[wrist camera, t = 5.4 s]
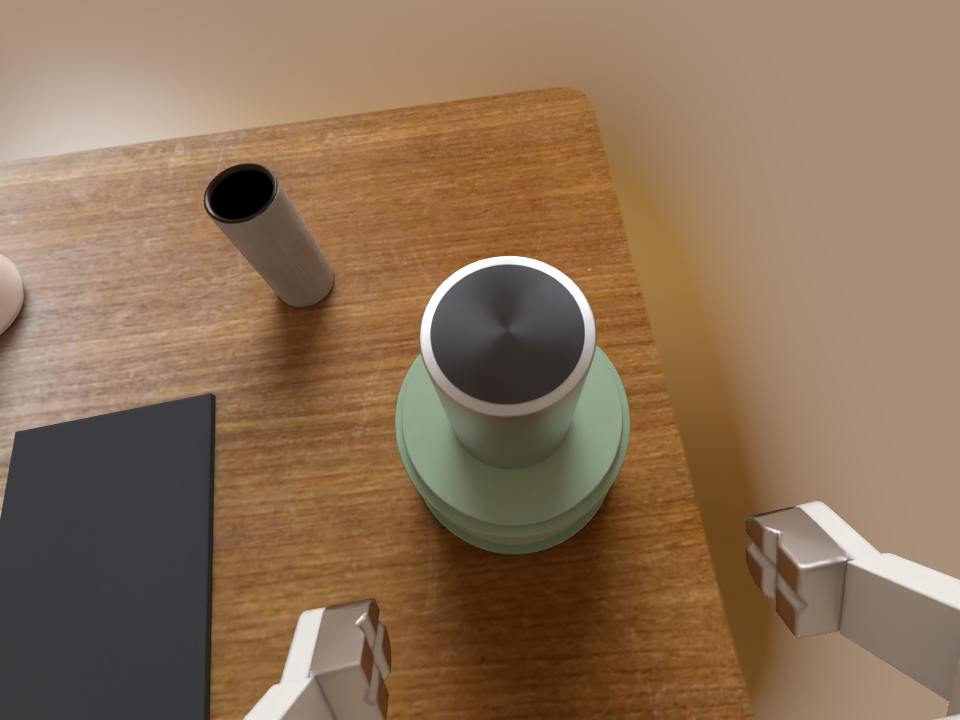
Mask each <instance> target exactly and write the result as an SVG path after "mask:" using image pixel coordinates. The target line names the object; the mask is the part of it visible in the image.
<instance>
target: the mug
mask: <svg viewBox="0 0 960 720" xmlns="http://www.w3.org/2000/svg"><path fill="white" fill-rule="evenodd" d="M23 300H24V287H23V279H22V276H21V274H20V272H19V270H18V268H17V267H16V266H15V264H14V263H13V262H12V261H10V260H9V259H8V258H6V257H5V256H3V255H2V254H0V334H2V333H3V332H4V331H5V330H6V329H7V328H8V327H9V326H10V325H11V324H12V323H13V321H14V320H15V318H16V317H17V315H18V314H19V312H20V310H21V307H22V304H23Z"/></svg>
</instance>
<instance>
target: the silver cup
mask: <svg viewBox="0 0 960 720" xmlns="http://www.w3.org/2000/svg"><path fill="white" fill-rule="evenodd" d="M596 341H597V330H596V322H595V318H594V314H593V311H592V309H591V306H590V304H589V302H588V300H587V299H586V297H585V295H584V294H583V292H582V291H581V290H580V288H579V287H578V286H577V285H576V284H575V283H574V282H573V281H572V280H571V279H570V278H569V277H568V276H566V275H565V274H564V273H562V272H561V271H559V270H558V269H556V268H554V267H552V266H550V265H548V264H546V263H544V262H541V261H537V260H534V259H530V258H525V257H516V256H500V257H493V258H488V259H484V260H480V261H477V262H475V263H472V264H469V265H467V266H465V267H464V268H462V269H460V270H458V271H457V272H455V273H454V274H452V275H451V276H450V277H449V278H447V279H446V280H445V281H444V282H443V283H442V284H441V285H440V286H439V287H438V288H437V290H436V291H435V292H434V294H433V295H432V297H431V298H430V300H429V302H428V304H427V306H426V308H425V310H424V313H423V316H422V319H421V324H420V330H419V345H420V352H421V356H422V360H423V362H424V365H425V368H426V370H427V372H428V374H429V377H430V379H431V381H432V383H433V386H434V388H435V390H436V392H437V394H438V397H439V399H440V401H441V403H442V406H443V408H444V410H445V412H446V414H447V417H448V419H449V421H450V423H451V426H452V428H453V430H454V432H455V434H456V436H457V438H458V440H459V442H460V443H461V445H462V446H463V447H464V448H465V449H466V450H467V451H468V453H469V454H471V455H472V456H473V457H474V458H476V459H477V460H479V461H481V462H483V463H485V464H487V465H489V466H492V467H496V468H501V469H521V468H526V467H530V466H533V465H535V464H538V463H540V462H541V461H543V460H545V459H546V458H548V457H549V456H550V455H551V454H553V453H554V452H555V451H556V450H557V449H558V447H559V446H560V445H561V443H562V442H563V440H564V438H565V436H566V435H567V432H568V429H569V426H570V424H571V421H572V418H573V415H574V412H575V409H576V406H577V404H578V401H579V398H580V395H581V392H582V389H583V386H584V383H585V381H586V378H587V375H588V372H589V369H590V366H591V363H592V361H593V358H594V354H595V349H596Z"/></svg>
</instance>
